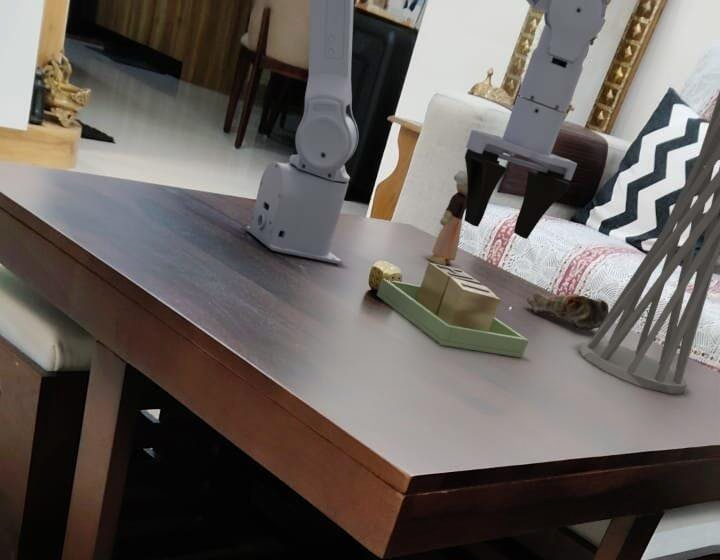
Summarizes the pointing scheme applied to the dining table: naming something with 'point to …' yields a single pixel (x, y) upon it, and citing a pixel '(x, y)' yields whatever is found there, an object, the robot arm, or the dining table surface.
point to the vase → (636, 362)
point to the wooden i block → (468, 305)
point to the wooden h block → (438, 285)
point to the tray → (493, 341)
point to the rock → (571, 309)
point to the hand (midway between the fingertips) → (496, 229)
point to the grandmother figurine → (451, 223)
